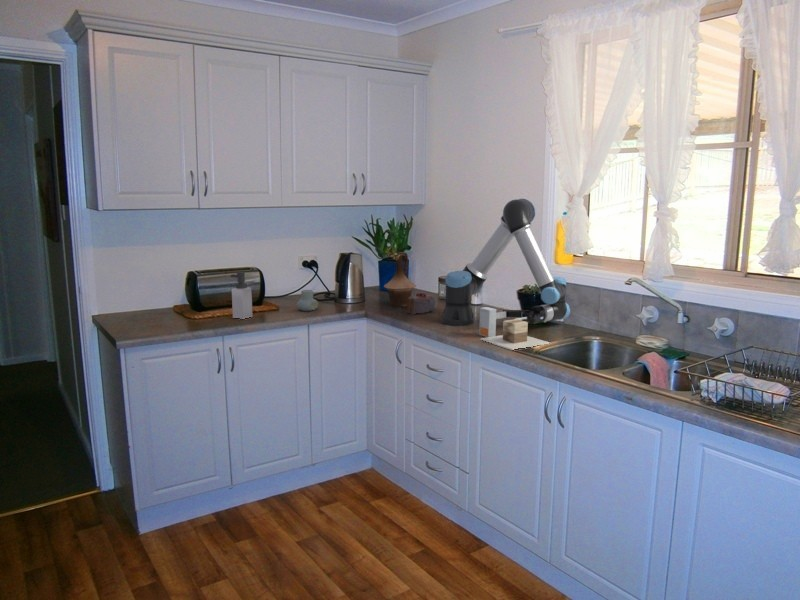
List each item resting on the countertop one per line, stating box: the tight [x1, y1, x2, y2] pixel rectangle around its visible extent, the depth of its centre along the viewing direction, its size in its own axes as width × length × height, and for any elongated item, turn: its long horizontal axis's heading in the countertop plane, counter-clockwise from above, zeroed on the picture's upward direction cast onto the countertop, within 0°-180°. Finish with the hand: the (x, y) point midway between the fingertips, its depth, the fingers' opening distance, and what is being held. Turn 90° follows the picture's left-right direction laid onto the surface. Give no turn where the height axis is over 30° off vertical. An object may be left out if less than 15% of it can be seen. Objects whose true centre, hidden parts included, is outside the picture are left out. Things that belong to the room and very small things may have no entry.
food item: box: [406, 292, 436, 315], centre depth 320 cm, size 14×8×10 cm, turn 128°
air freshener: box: [296, 289, 319, 312], centre depth 325 cm, size 11×8×10 cm
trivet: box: [480, 334, 550, 351], centre depth 262 cm, size 20×20×1 cm
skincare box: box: [478, 306, 497, 338], centre depth 271 cm, size 6×4×12 cm
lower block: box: [502, 330, 528, 343], centre depth 262 cm, size 7×7×4 cm
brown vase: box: [383, 251, 417, 307], centre depth 337 cm, size 18×17×28 cm
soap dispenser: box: [230, 271, 253, 320], centre depth 305 cm, size 6×9×22 cm
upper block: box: [502, 318, 529, 334], centre depth 261 cm, size 7×7×4 cm
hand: (504, 318), depth 276 cm, fingers open, 13 cm apart
